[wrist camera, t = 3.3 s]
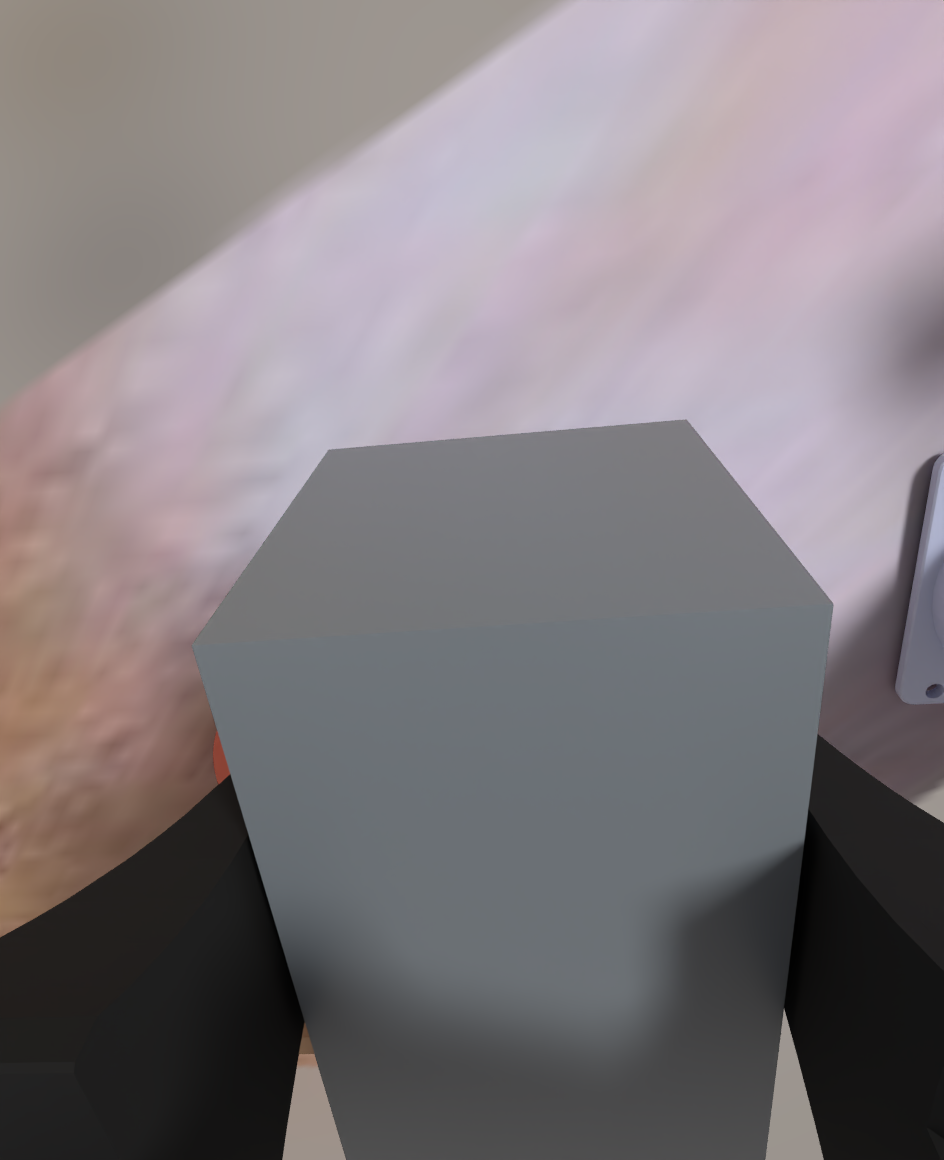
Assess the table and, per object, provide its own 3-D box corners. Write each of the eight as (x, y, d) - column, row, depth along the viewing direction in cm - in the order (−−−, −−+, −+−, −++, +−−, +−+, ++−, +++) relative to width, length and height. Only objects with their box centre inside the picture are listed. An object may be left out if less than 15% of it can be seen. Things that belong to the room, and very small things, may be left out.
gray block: (686, 419, 13) (832, 603, 7) (676, 830, 17) (764, 1162, 11) (328, 449, 13) (192, 646, 7) (401, 842, 17) (348, 1166, 11)
